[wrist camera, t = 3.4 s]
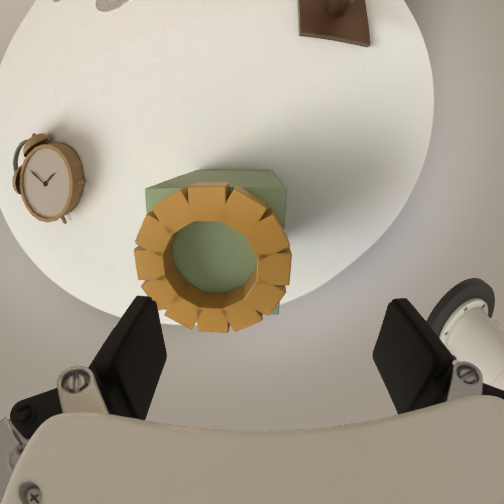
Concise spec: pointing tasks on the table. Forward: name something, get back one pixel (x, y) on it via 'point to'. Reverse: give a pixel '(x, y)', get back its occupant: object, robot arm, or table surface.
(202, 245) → the sage green upright pillar
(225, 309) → the brass ring
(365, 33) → the peg stand
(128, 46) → the table surface
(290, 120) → the table surface
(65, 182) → the alarm clock
